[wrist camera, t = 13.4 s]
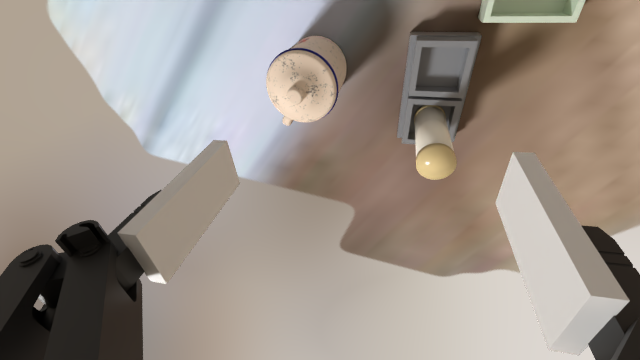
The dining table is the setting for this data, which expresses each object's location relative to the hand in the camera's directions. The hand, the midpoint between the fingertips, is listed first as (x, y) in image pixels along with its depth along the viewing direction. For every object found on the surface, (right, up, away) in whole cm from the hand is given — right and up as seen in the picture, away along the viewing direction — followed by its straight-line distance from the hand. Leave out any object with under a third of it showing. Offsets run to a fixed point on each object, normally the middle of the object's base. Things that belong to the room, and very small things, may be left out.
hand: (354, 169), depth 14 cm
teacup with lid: (-3, +15, +30) cm, 33 cm away
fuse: (+14, +8, +27) cm, 31 cm away
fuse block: (+14, +12, +27) cm, 32 cm away
